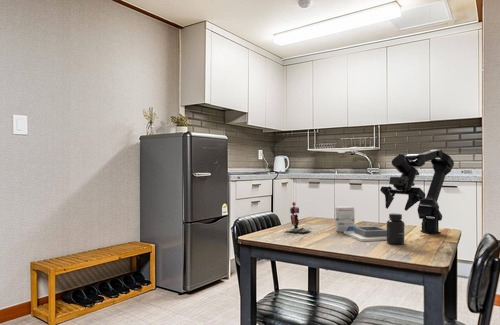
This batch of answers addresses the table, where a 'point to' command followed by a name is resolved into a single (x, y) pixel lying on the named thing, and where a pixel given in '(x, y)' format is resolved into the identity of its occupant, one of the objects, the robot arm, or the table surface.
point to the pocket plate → (368, 233)
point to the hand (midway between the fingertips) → (395, 209)
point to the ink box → (344, 219)
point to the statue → (296, 221)
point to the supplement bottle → (395, 229)
